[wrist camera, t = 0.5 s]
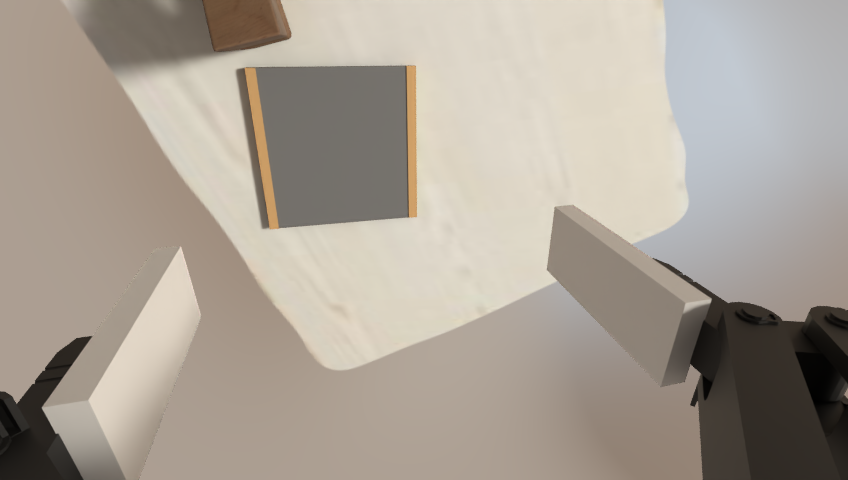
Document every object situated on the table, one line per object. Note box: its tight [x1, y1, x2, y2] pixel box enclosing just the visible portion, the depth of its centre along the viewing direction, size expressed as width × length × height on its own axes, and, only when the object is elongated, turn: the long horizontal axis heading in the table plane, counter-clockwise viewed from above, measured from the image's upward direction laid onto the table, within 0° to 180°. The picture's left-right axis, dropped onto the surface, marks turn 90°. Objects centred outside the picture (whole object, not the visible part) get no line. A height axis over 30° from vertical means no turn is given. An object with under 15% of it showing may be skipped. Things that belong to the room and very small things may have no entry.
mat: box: [245, 66, 417, 229], centre depth 40 cm, size 14×14×1 cm
